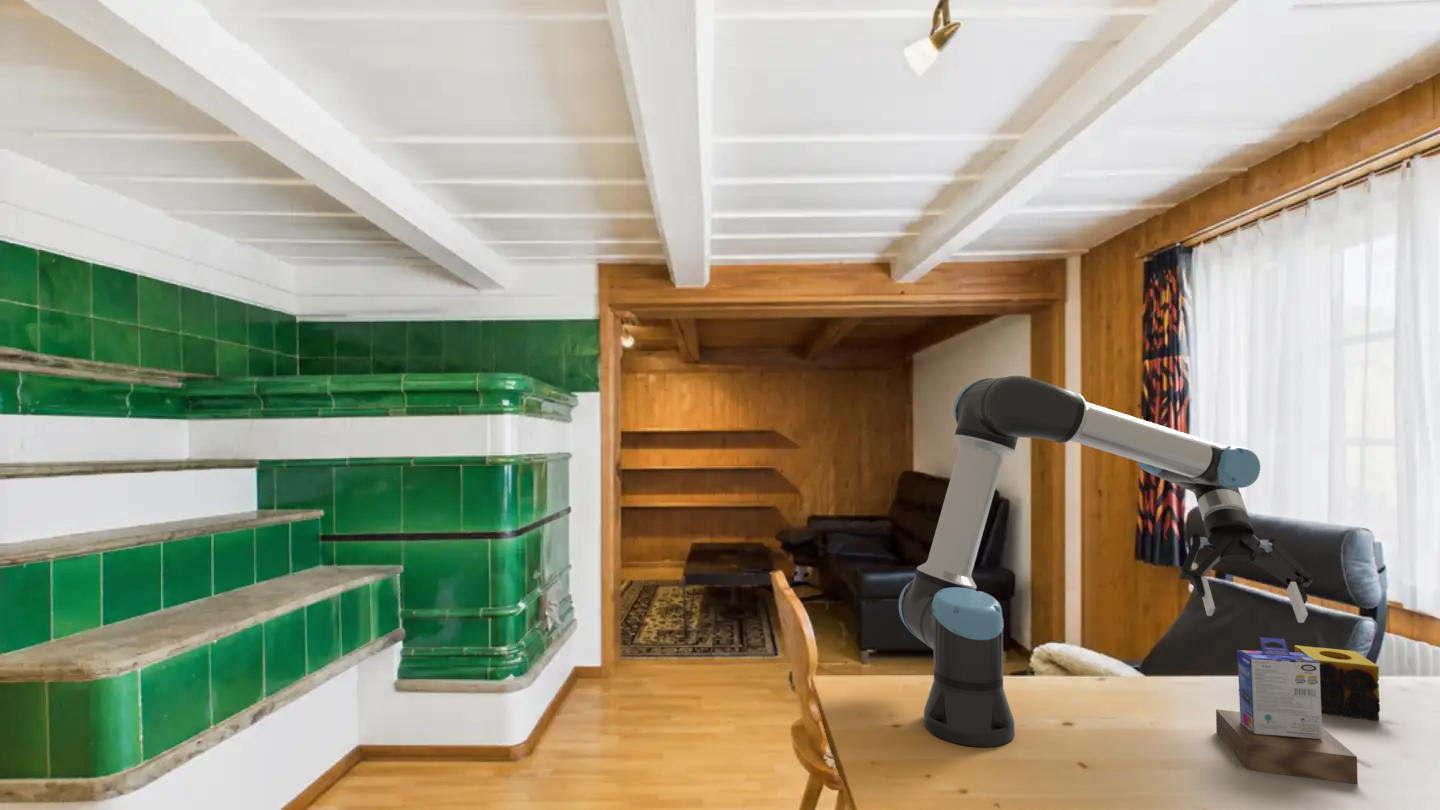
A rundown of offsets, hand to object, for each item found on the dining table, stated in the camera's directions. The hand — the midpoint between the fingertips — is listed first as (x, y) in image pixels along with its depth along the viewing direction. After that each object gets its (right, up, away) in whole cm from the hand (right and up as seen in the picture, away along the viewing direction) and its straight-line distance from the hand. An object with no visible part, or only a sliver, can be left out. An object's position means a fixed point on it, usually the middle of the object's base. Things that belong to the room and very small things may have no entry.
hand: (1256, 615), depth 125 cm
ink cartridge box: (-3, -16, -10) cm, 19 cm away
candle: (+22, -21, +10) cm, 32 cm away
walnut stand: (-3, -20, -10) cm, 22 cm away
